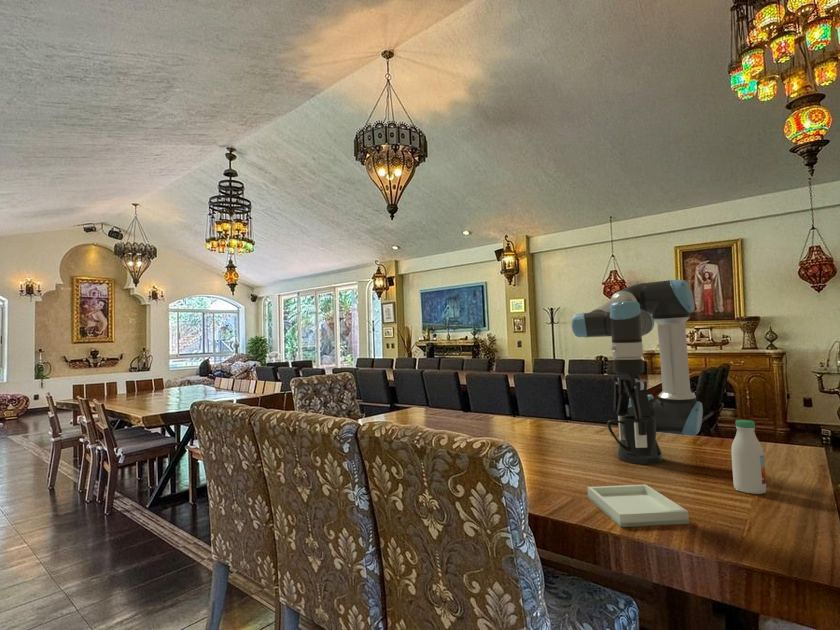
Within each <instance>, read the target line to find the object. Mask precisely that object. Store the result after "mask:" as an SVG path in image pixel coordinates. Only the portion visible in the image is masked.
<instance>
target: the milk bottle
mask: <svg viewBox="0 0 840 630" xmlns="http://www.w3.org/2000/svg"><path fill="white" fill-rule="evenodd" d="M755 427H756V423H755V421H754V420H750V419H749V420H748V419H736V420H735V428H736V434H735V437H734V439H733V441H732V444H731V449H730V450H731V467H732V468H731V469H732V478H733V479H732V480H733V482H732V483H733V487H734V489H735V490H736V491H739V492H741V493H746V494H750V493H751V495H762V494H763V493H764V494H766V492H767V478H766V464H765V456H764V449H763V447H762V444H761V443H760V441H759V439H758V438H757V436H756V432H755V430H756V428H755Z"/></svg>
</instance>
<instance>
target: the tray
mask: <svg viewBox="0 0 840 630" xmlns="http://www.w3.org/2000/svg"><path fill="white" fill-rule="evenodd" d="M587 498H588V499H589V500H590V501H591V502H592V503H594V505H595V506H597V508H599V509H600V510H601V511H602V512H604V514H605V515H607V516H608V518H610V520H612V521H613V522H614V523H615V524H616V525H618V526H619V528H625V527H626V528H627V527H650V526H672V525H690V519H689V517H690V516H689V510H687V509H685V508H684V507H682V506H681V505H679V504H677V503H675V502H674V501H673V500H671V499H670V498H668V497H666V496H665V495H663V494H662V493H660V492H659V491H657V490H656V489H654V488H653V487H650V486H649V485H647V484H626V485H625V484H624V485H607V486H606V485H604V486H601V485H600V486H587Z"/></svg>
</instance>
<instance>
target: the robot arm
mask: <svg viewBox="0 0 840 630" xmlns="http://www.w3.org/2000/svg"><path fill="white" fill-rule="evenodd" d="M695 308H696V307H695V299H694V295H693V291H692V288H691V286H690V284H689V282H688V281H686V280H685V279H668V280H660V281H652V282H641V283H637V284H632V285H630V286H627V287H625V288H623V289H621V290H619V291H617V292H615V293H613V294H612V296H611V297H610V299H609V300H608V301H606V302H604V303H603V304H601V305H599V306H598V307H596V308H595V309H593V310H591V311H589V312H582V313H581V312H580V313H576V314H574V315H573V317H572V319H571V329H572V332H573V334H574V336H575V337H576V338H577V337H578V338H586V339H587V338H601V337H602V338H603V337H605V338H606V337H611V347H610V350H611V351H612V357H613V358H615V359H613V360H612V367H613V368H612V369H613V373H615V374H618V377H613V379H612V382H613V412H614V413H616V415H617V420H618V421H622V419H621V418H622V417H623V416H631V415H635V419H636V420H634V421H633V422H634V430H635V447H636V448H645V447H647V434H646V422H647V421H651V417H654V418H655V421H656V433H664V434H674V435H681V436H696V435H698V434H699V432H700V430H701V427H702V423H703V413H704V409H703V402H701V401H697V396H696V394H695V393H694V392H692V391H691V383H690V382H691V381H690V368H689V356H688V354H689V353H688V342H687V330H686V323H687V321H688V320H689V319H690V318H691V315H690V314H692V313H694V311H695ZM655 324H657V334H658V335H657V336H658V337H657V339H658V351H659V360H660V363H659V365H660V373H661V375H660V376H661V388H662V391H661V392H660V393H659V394H658V397H657V398H658V399H656V398H655V397H654V396H653V394H648V383H647V381H641V379H640V376H639V375H640V374H643V373H644V371H645V368H644V366H645V364H644V359H642V357H644V349H643V348H644V346H643V345H644V344H643V336H645V335H647V334H650V333H651V332H652V331H653V329H654V326H655ZM654 398H655V399H654ZM618 437H619V439H618V440H619V441H620V442H621V443H622V444H623V445H624V446H627V444H626V441H625V438H624V434H623V430H622V424H621V423H618ZM616 457H617V458H618V460H620V461H623V462H627V463H632V464H638V465H639V464H641V465H652V464H653V465H654V464H659V463H661V462H662V461H663V453H662V451H661V449H660V446H659V444H658V441H657V439H655V445H654V449H653V454H652V455H649V456H638V455H633V454H630V453H629V452H626V451H624V450H623V449H622V448H621V447H620V445H619V444H618V446H617V449H616Z"/></svg>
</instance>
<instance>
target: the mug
mask: <svg viewBox="0 0 840 630" xmlns="http://www.w3.org/2000/svg"><path fill="white" fill-rule="evenodd" d="M621 419H622V421H618V419H617V420H615V419H612V420H610V419H609V420H607V425H606V426H607V429H608V431H609V433H610V435H611V436H612V437H613V439H615V441H616V442H617V444H618V445H620V447H621V448H622V449H623V450H624V451H626V452H629V453H630V454H633V455H638V456H649V455H652V454H653V449H654V445H655V439H656V438H657V437H656V436H657V432H656V421H655V418H654V417H651V421H647V422H646V434H647V447H645V448H636V447H635V430H634V422H633V421H634V420H636V419H635V415H631V416H623V417H622V418H621ZM612 423H618V424H619V423H621V424H622V430H623V434H624V438H625V441H626V444H627V446H624V445H623V444H622V443H621V442H620V439H618V437H617V436H616V435H615V433H614V431H613V429H612V426H611V424H612ZM656 440H657V439H656Z"/></svg>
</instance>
